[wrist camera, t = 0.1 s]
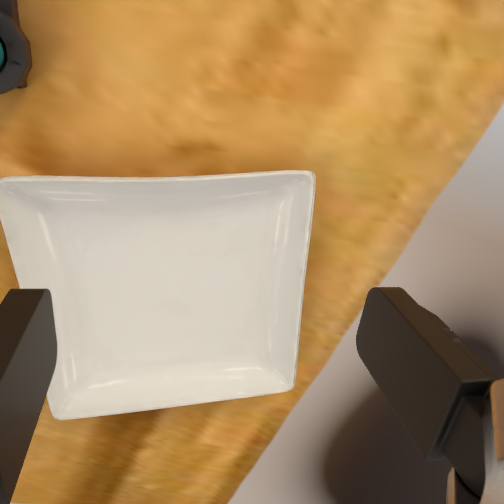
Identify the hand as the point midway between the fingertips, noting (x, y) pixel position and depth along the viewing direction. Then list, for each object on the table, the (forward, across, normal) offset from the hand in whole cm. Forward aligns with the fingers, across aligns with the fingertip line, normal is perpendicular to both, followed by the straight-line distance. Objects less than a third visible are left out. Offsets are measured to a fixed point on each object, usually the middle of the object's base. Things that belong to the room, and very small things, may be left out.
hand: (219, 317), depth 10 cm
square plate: (+29, 0, +17) cm, 34 cm away
